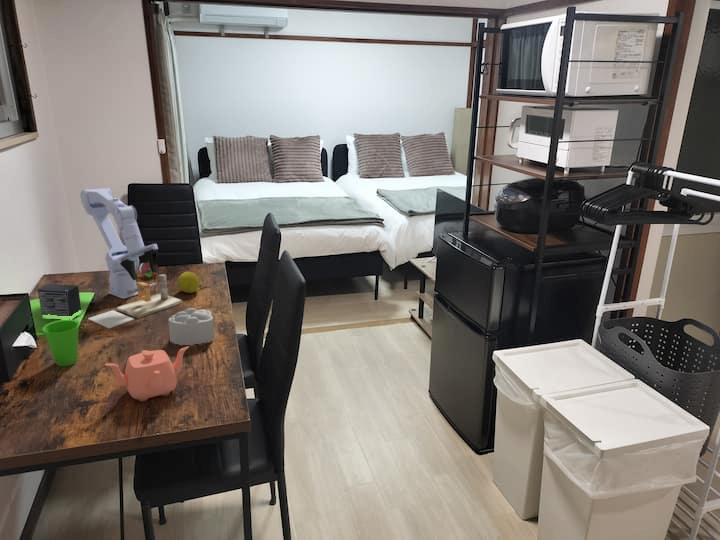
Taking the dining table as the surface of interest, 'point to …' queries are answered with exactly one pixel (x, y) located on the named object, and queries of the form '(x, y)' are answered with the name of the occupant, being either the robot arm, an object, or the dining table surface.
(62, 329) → the cup
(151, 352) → the teapot
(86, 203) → the robot arm
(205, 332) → the lumpy-topped squat cylinder
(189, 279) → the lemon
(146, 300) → the c link
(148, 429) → the dining table surface
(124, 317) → the grey mat
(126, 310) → the hook stand
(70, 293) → the small box
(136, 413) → the dining table surface
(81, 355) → the dining table surface
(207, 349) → the dining table surface
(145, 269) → the geometric puzzle
